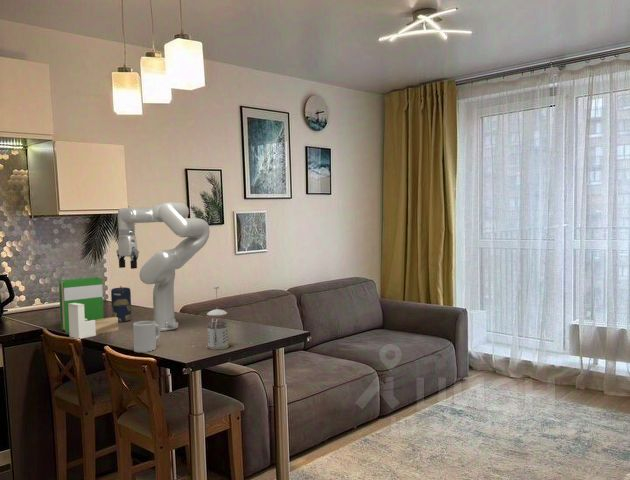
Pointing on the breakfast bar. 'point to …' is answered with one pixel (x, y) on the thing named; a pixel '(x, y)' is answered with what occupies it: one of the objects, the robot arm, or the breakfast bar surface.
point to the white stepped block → (80, 322)
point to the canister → (121, 303)
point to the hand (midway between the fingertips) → (128, 268)
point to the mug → (145, 336)
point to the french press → (217, 328)
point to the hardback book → (81, 298)
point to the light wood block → (106, 325)
